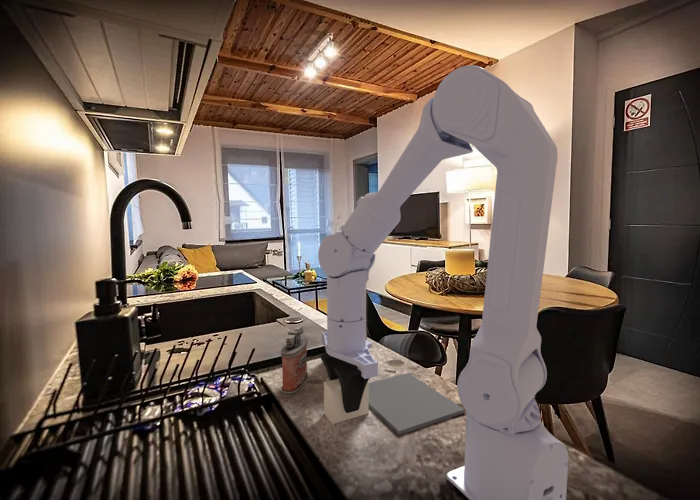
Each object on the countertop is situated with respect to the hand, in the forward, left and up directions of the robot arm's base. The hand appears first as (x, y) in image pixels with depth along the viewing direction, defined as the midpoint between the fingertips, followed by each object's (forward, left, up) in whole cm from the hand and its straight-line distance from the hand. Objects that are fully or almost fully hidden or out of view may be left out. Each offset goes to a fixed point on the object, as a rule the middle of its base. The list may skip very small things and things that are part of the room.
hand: (346, 404), depth 53 cm
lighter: (+12, +4, -2) cm, 13 cm away
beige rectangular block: (0, 0, -1) cm, 1 cm away
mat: (-1, -10, -1) cm, 10 cm away
